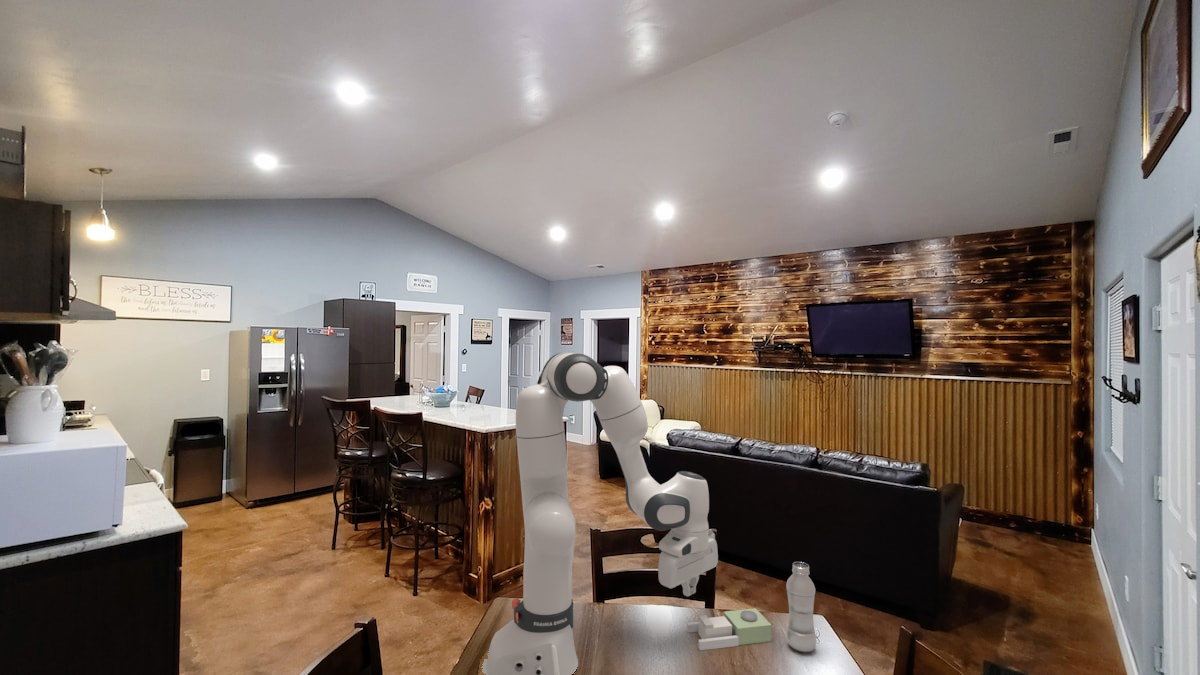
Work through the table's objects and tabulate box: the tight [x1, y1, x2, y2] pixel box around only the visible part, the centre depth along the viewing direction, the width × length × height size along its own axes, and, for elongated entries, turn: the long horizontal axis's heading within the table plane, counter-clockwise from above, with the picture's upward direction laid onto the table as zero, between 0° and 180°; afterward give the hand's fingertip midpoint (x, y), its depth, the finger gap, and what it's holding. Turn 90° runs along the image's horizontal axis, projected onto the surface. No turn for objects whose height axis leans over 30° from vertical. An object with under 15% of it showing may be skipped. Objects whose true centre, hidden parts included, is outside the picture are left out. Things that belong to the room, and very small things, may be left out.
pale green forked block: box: [686, 607, 773, 651], centre depth 125 cm, size 19×8×5 cm, turn 101°
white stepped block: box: [698, 614, 732, 639], centre depth 124 cm, size 7×4×5 cm, turn 102°
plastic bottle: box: [785, 561, 817, 653], centre depth 120 cm, size 6×7×20 cm
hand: (689, 593), depth 123 cm, fingers closed
